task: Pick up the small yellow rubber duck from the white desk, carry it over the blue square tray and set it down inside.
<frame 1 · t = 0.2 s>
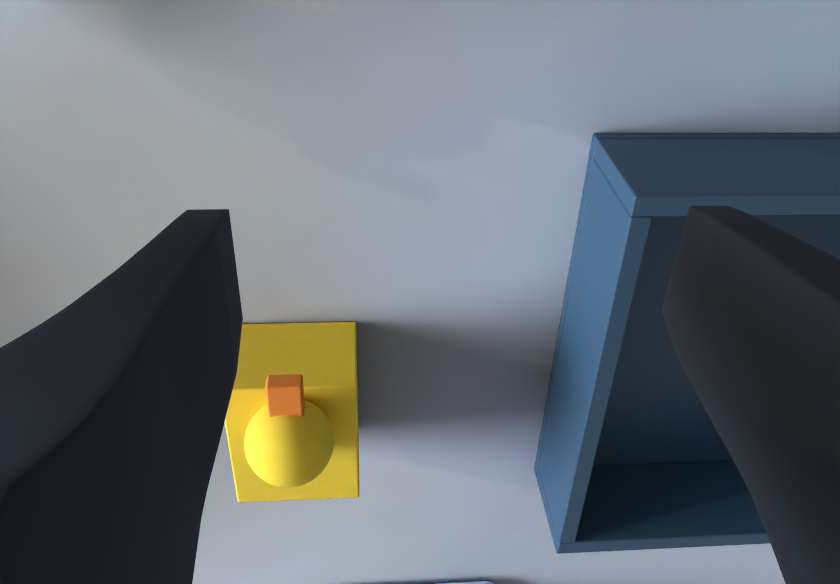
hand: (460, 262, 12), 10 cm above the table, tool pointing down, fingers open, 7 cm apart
blue square tray: (757, 323, 26), on the table
rubber duck: (299, 379, 26), on the table
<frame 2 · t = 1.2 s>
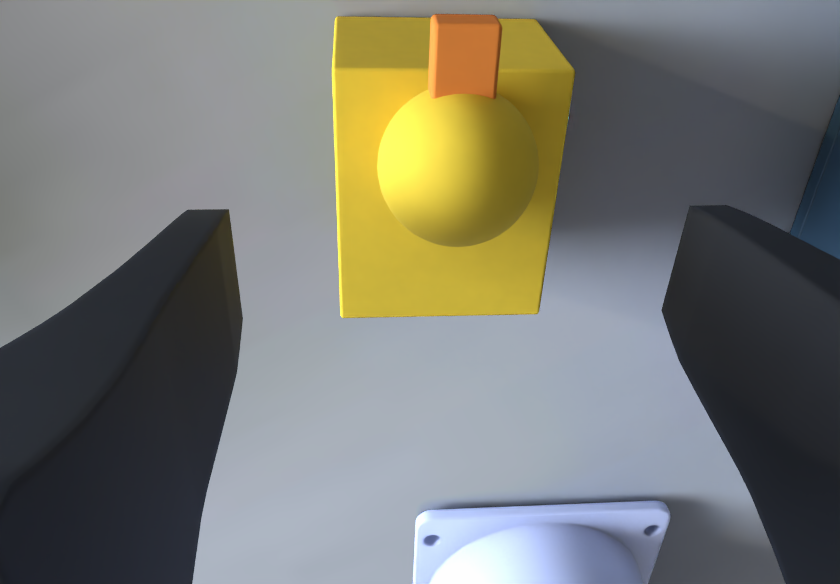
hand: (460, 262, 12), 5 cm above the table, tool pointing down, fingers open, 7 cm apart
rubber duck: (431, 136, 16), on the table
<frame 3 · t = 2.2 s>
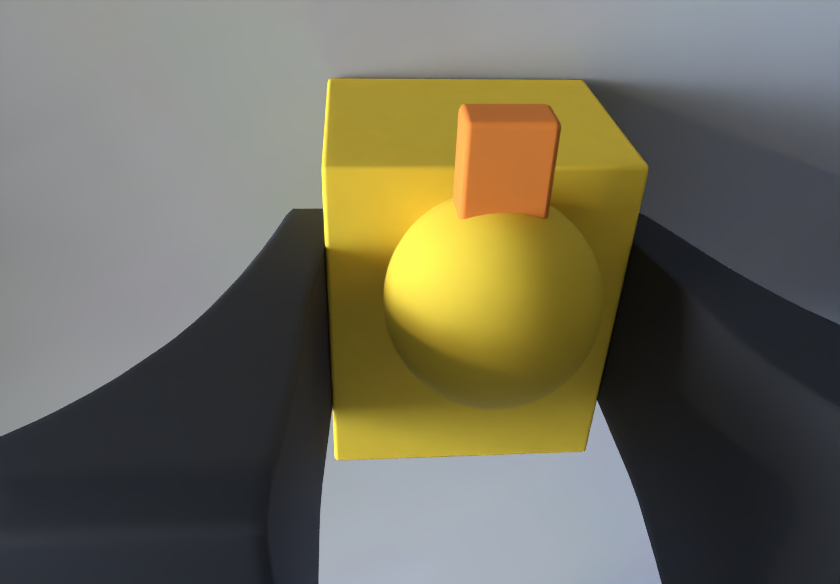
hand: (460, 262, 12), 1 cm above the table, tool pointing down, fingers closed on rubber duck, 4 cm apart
rubber duck: (448, 219, 13), on the table, touching gripper
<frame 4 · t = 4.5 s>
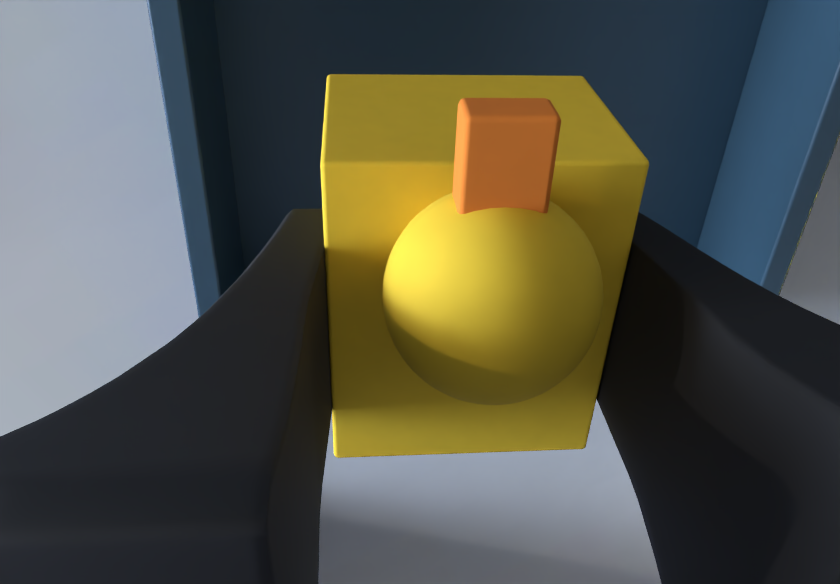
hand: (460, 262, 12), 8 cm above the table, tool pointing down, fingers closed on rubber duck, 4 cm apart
blue square tray: (488, 76, 19), on the table
rubber duck: (448, 216, 13), point 7 cm above the table, touching gripper
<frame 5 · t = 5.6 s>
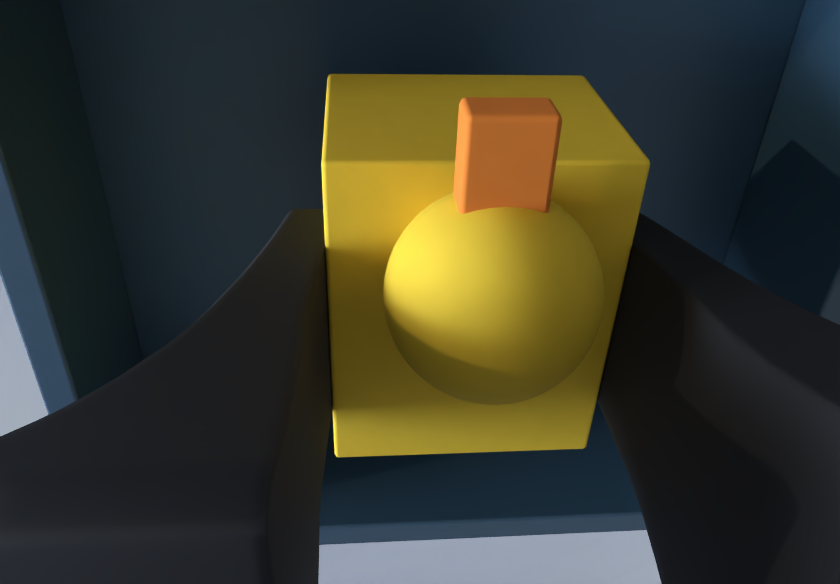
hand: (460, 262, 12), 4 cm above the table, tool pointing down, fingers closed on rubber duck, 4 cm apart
blue square tray: (436, 156, 15), on the table
rubber duck: (448, 215, 13), point 3 cm above the table, touching gripper
when the fingers open (2 cm above the table, at t = 6.7 s): rubber duck stays where it is, resting on blue square tray.
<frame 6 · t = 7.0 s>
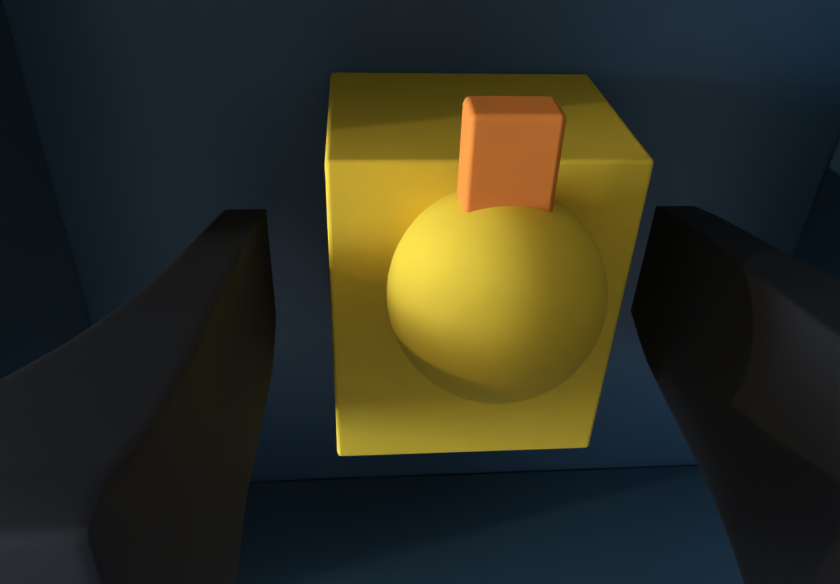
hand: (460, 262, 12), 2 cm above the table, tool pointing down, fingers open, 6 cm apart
blue square tray: (448, 207, 13), on the table
rubber duck: (451, 214, 13), resting on blue square tray
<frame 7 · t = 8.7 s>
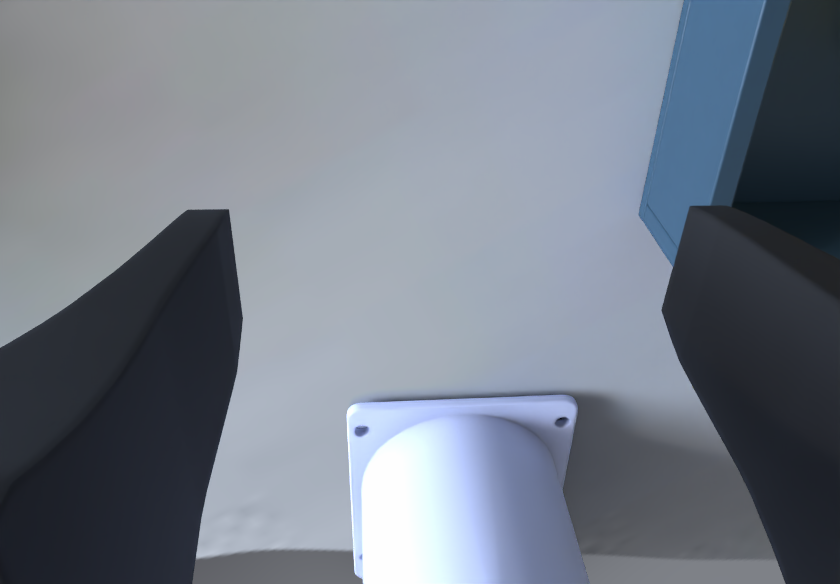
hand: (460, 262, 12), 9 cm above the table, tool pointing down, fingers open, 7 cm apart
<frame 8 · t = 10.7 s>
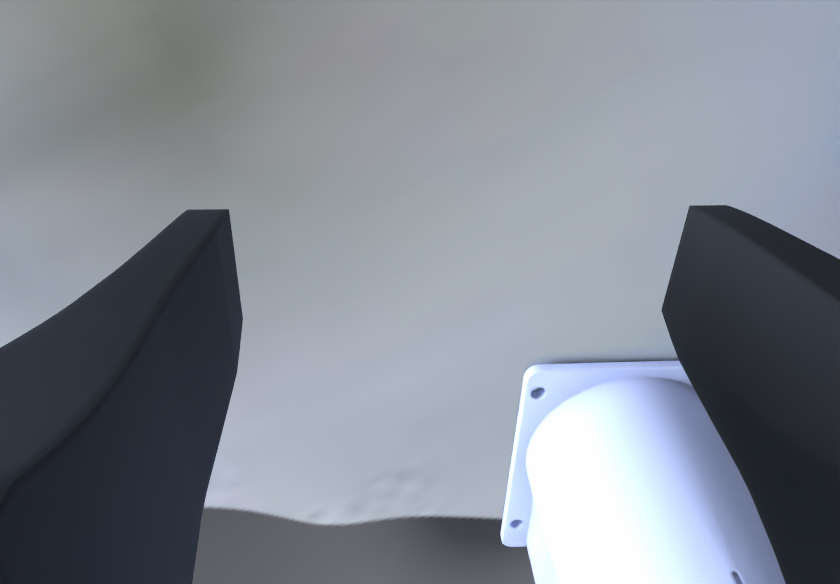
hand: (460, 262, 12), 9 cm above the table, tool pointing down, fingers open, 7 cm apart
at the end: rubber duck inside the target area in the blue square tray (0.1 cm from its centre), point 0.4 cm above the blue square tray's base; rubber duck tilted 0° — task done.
